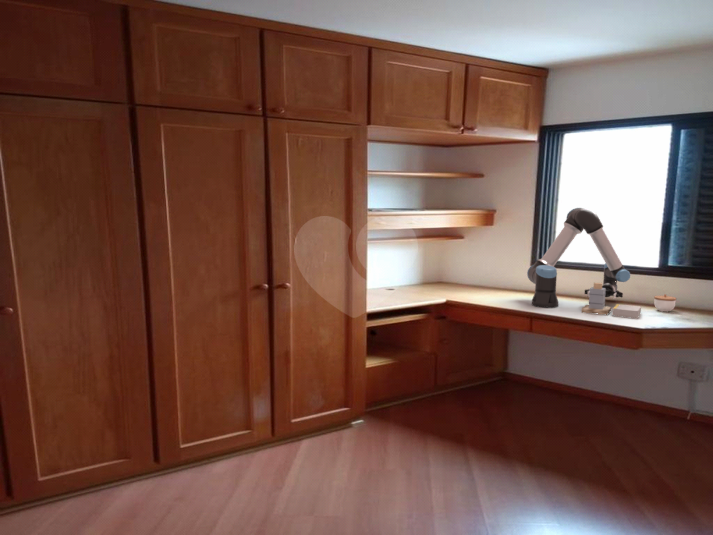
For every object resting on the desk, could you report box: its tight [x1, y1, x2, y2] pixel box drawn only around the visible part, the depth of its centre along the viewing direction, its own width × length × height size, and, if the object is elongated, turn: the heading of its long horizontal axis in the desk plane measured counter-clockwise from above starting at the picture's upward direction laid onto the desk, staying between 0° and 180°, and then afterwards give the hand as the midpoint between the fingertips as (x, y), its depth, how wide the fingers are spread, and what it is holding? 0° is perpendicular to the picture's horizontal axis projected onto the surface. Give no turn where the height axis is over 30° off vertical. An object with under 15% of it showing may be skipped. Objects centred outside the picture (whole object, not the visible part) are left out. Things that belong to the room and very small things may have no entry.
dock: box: [611, 303, 642, 319], centre depth 279 cm, size 12×14×4 cm
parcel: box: [592, 281, 603, 289], centre depth 285 cm, size 4×4×3 cm
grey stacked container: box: [588, 286, 606, 309], centre depth 286 cm, size 7×7×11 cm
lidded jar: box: [653, 293, 677, 312], centre depth 289 cm, size 11×11×9 cm
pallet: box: [581, 304, 612, 316], centre depth 286 cm, size 13×13×2 cm
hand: (600, 295), depth 291 cm, fingers open, 13 cm apart
